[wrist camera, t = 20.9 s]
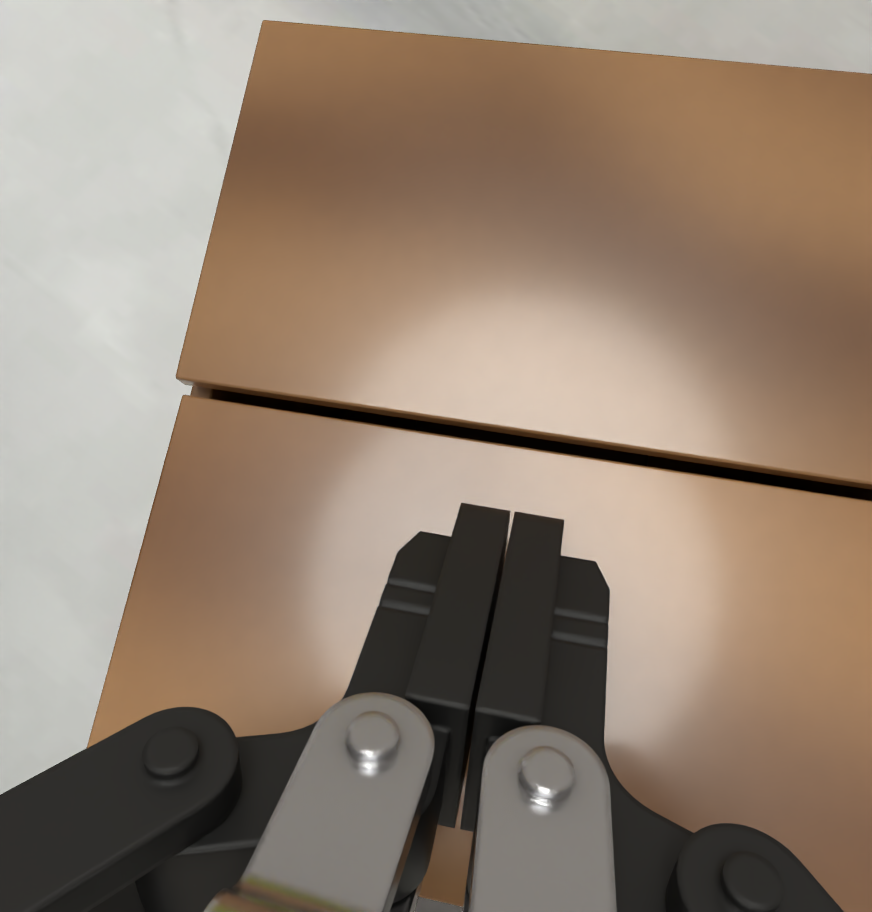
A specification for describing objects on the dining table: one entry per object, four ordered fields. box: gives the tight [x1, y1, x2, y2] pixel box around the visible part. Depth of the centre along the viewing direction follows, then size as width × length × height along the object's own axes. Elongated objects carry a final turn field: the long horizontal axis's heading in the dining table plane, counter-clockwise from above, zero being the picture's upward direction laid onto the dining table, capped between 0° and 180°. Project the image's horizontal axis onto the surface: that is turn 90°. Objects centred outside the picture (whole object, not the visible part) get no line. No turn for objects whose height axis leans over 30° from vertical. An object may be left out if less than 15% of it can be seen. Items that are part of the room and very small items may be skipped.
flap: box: [87, 395, 872, 912], centre depth 13 cm, size 7×12×1 cm, turn 80°
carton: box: [176, 20, 872, 501], centre depth 18 cm, size 14×12×10 cm
